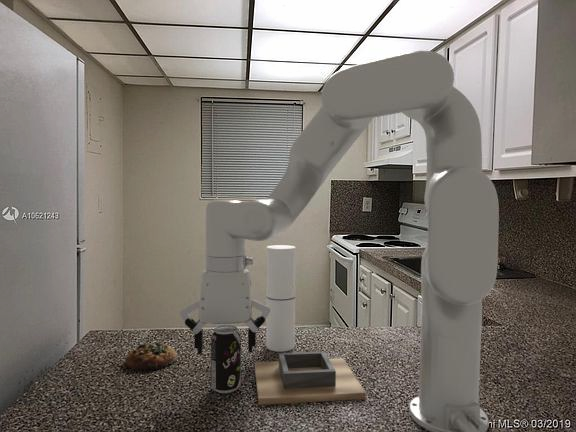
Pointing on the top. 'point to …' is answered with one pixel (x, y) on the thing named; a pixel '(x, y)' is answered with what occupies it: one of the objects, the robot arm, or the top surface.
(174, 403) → the top surface
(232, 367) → the beverage can
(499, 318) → the top surface
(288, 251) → the cylindrical container
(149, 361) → the bread roll
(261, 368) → the board
